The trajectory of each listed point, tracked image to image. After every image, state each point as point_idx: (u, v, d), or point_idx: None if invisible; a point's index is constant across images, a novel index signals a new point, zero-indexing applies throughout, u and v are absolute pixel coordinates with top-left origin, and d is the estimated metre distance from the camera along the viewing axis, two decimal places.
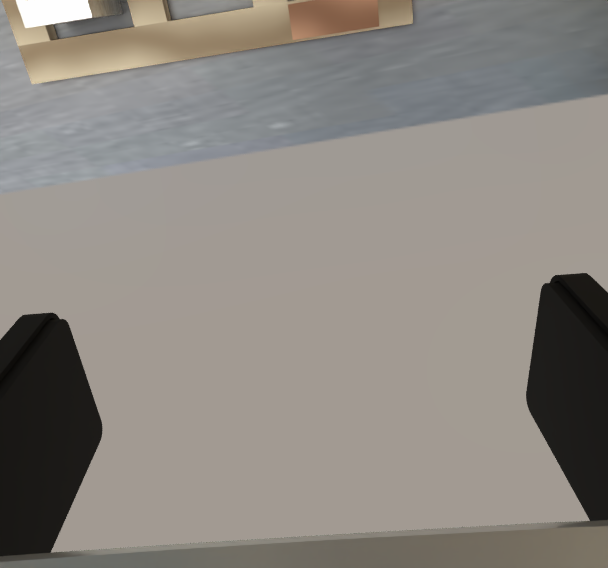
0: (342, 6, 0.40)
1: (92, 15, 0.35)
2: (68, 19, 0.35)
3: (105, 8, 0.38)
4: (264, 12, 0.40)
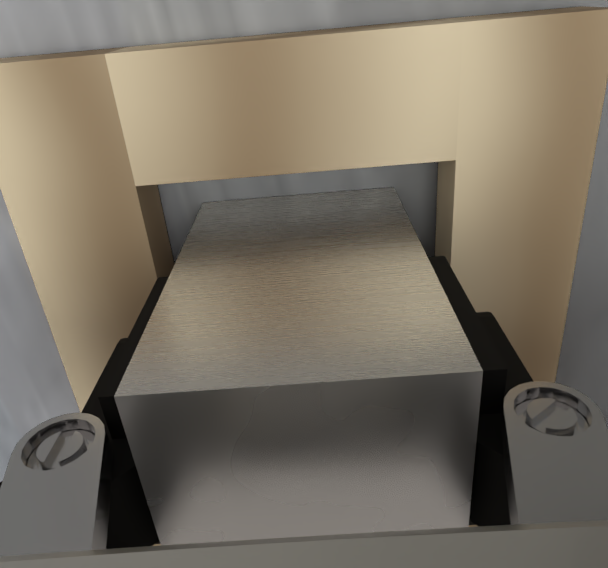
0: None
1: None
2: None
3: None
4: None
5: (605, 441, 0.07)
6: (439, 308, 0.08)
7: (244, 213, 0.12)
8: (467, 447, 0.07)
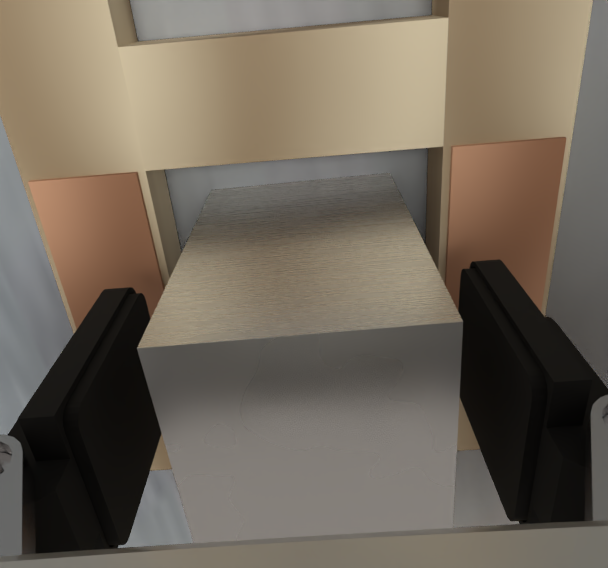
0: None
1: None
2: (185, 494, 0.09)
3: None
4: (104, 87, 0.11)
5: None
6: (427, 273, 0.09)
7: (250, 198, 0.13)
8: (451, 393, 0.08)
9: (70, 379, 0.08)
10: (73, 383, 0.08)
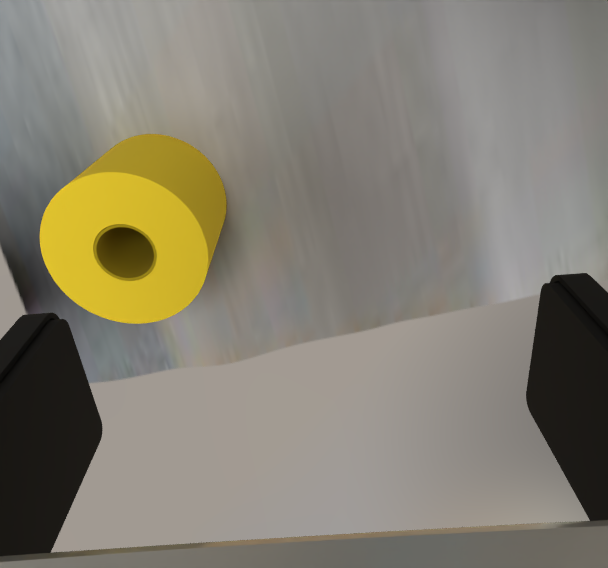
0: None
1: None
2: None
3: None
4: None
5: None
6: None
7: None
8: None
9: None
10: None
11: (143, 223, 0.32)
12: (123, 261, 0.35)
